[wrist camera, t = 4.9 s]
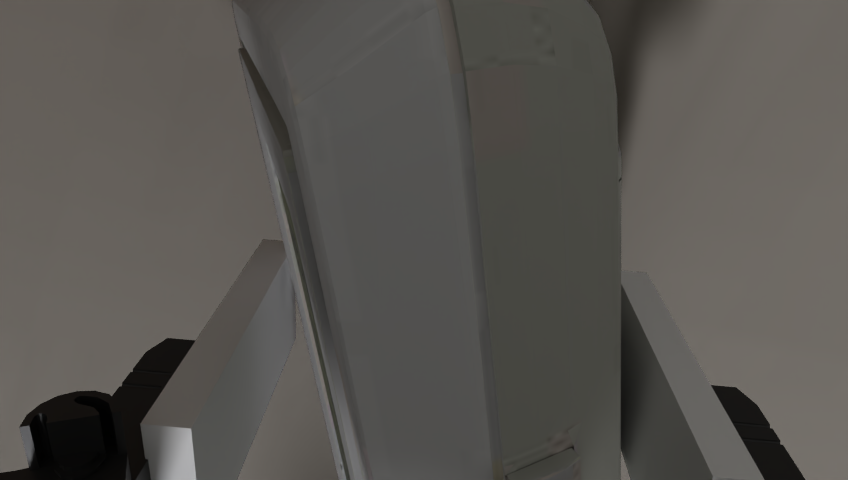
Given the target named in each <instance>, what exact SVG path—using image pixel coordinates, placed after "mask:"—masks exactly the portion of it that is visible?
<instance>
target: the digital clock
mask: <svg viewBox="0 0 848 480" xmlns="http://www.w3.org/2000/svg"><path fill="white" fill-rule="evenodd" d="M232 6H233V13H234V18H235V23H236V27H237V31H238V36H239V40H240V45H241V48H240V49H239V55H240V59H241V64H242V68H243V72H244V76H245V81H246V85H247V89H248V94H249V98H250V102H251V106H252V111H253V115H254V119H255V123H256V128H257V132H258V136H259V141H260V145H261V149H262V153H263V158H264V162H265V166H266V170H267V175H268V179H269V183H270V188H271V192H272V196H273V200H274V205H275V209H276V213H277V217H278V222H279V226H280V230H281V234H282V239H283V243H284V247H285V252H286V256H287V260H288V264H289V269H290V273H291V277H292V281H293V286H294V290H295V294H296V299H297V303H298V307H299V311H300V316H301V320H302V324H303V328H304V333H305V337H306V341H307V346H308V350H309V354H310V358H311V363H312V367H313V371H314V375H315V380H316V384H317V388H318V393H319V397H320V401H321V405H322V410H323V414H324V418H325V422H326V427H327V431H328V435H329V440H330V444H331V448H332V452H333V457H334V461H335V465H336V469H337V474H338V478H339V480H620V476H621V151H620V147H619V144H618V112H617V93H616V85H615V77H614V70H613V62H612V55H611V52H610V49H609V46H608V42H607V39H606V36H605V33H604V30H603V27H602V24H601V21H600V18H599V16H598V14H597V13H596V12H595V10H594V9H593V8H592V6H591V5H590V4H589V3H588V1H587V0H232Z"/></svg>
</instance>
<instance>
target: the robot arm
mask: <svg viewBox="0 0 848 480" xmlns="http://www.w3.org/2000/svg"><path fill="white" fill-rule="evenodd" d="M295 339H296V310H295V290H294V286H293V281H292V277H291V273H290V269H289V264H288V260H287V256H286V252H285V247H284V243H283V241H278V240H266V239H263V240H262V242H261V243H260V245H259V246H258V248H257V249H256V251H255V252H254V254H253V255H252V257H251V258H250V260H249V261H248V263H247V264H246V266H245V267H244V269H243V270H242V272H241V273H240V275H239V276H238V278H237V279H236V281H235V282H234V284H233V285H232V287H231V288H230V290H229V291H228V293H227V294H226V296H225V297H224V299H223V300H222V302H221V303H220V305H219V306H218V308H217V309H216V311H215V312H214V314H213V315H212V317H211V318H210V320H209V321H208V323H207V324H206V326H205V327H204V329H203V330H202V332H201V333H200V335H199V336H198V338H197V339H196V341H194V340H183V339H172V338H167V339H165V340H164V341H162V342H161V343H159V344H158V345H156V346H155V347H153V348H151V349H150V350H148V351H147V352H146V353H145V354H144V355H143V357H142V358H141V359H140V361H139V362H138V363H137V364H136V366H135V367H134V368H133V372H130V374H129V375H128V376H127V377H126V379H125V380H124V381H123V383H122V387H121V386H120V387H119V388H118V389H117V390H116V392H115V393H114V394H113V396H111V395H109V394H106V393H102V392H98V391H76V392H72V393H68V394H64V395H60V396H57V397H55V398H53V399H50V400H48V401H46V402H44V403H42V404H40V405H39V406H38V407H36V408H35V409H34V410H33V411H31V412H30V413H29V414H28V415H27V416H26V417H25V419H24V420H23V422H22V424H21V425H20V431H21V435H22V440H23V444H24V448H25V452H26V456H27V460H28V464H29V468H26V469H22V470H17V471H11V472H4V473H0V480H237V478H238V476H239V473H240V471H241V469H242V466H243V464H244V461H245V459H246V456H247V454H248V452H249V449H250V447H251V444H252V442H253V440H254V437H255V435H256V432H257V430H258V428H259V425H260V423H261V420H262V418H263V416H264V413H265V411H266V408H267V406H268V404H269V401H270V399H271V396H272V394H273V392H274V389H275V387H276V384H277V382H278V380H279V377H280V375H281V372H282V370H283V368H284V365H285V363H286V360H287V358H288V355H289V353H290V351H291V348H292V346H293V343H294V341H295ZM621 451H622V454H623V457H624V460H625V463H626V467H627V470H628V473H629V476H630V479H631V480H805V478H804V477H803V475H802V474H801V472H800V471H799V469H798V468H797V466H796V464H795V463H794V461H793V460H792V458H791V457H790V455H789V454H788V452H787V450H786V449H785V447H784V446H783V445H780V440H779V438H778V437H777V435H776V433H775V432H774V430H773V429H770V424H769V423H768V421H767V419H766V418H765V416H764V415H763V413H762V412H761V410H760V409H759V407H758V406H757V405H756V404H755V403H754V402H753V401H752V400H750V399H749V398H748V397H747V396H746V395H744V394H743V393H742V392H741V391H740V390H738V389H737V388H736V387H725V386H714V385H710V383H709V381H708V379H707V378H706V376H705V374H704V372H703V371H702V369H701V367H700V365H699V364H698V362H697V360H696V358H695V357H694V355H693V353H692V351H691V350H690V348H689V346H688V344H687V342H686V341H685V339H684V337H683V335H682V334H681V332H680V330H679V328H678V327H677V325H676V323H675V321H674V320H673V318H672V316H671V314H670V313H669V311H668V309H667V307H666V306H665V304H664V302H663V300H662V298H661V297H660V295H659V293H658V291H657V290H656V288H655V286H654V284H653V283H652V281H651V279H650V277H649V276H648V274H647V273H645V272H633V271H622V270H621Z"/></svg>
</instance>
